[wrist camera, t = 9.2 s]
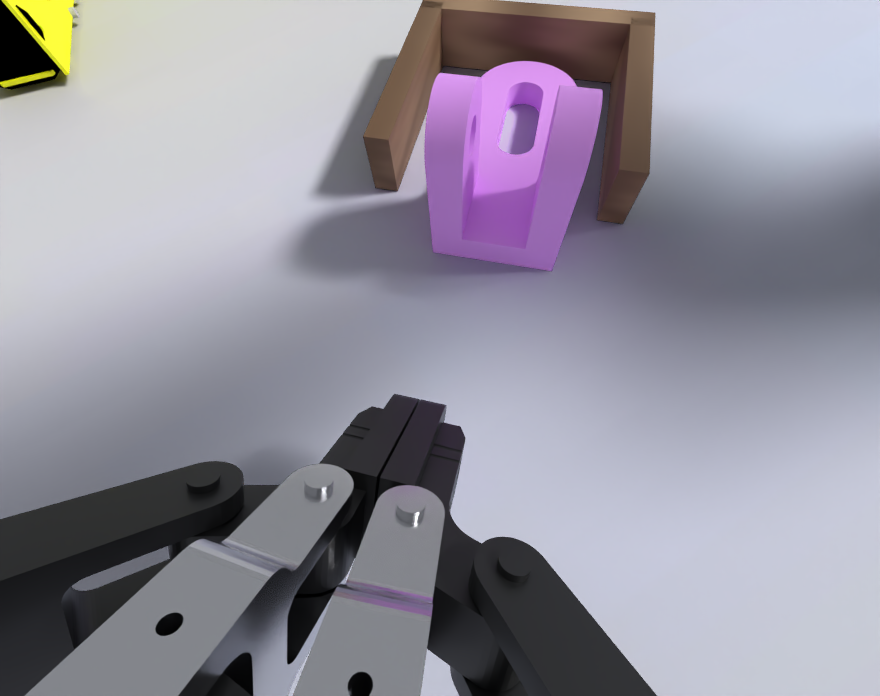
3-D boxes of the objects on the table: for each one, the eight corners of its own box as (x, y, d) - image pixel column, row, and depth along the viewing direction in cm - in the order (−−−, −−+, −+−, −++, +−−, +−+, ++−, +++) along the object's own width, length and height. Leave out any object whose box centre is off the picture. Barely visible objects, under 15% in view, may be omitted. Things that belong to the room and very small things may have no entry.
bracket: (551, 273, 19) (598, 140, 12) (433, 254, 19) (421, 119, 13) (576, 90, 24) (619, -69, 18) (482, 81, 25) (490, -76, 18)
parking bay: (633, 72, 24) (655, 12, 21) (622, 223, 19) (649, 173, 17) (429, 51, 26) (425, -6, 23) (375, 187, 21) (362, 136, 18)
